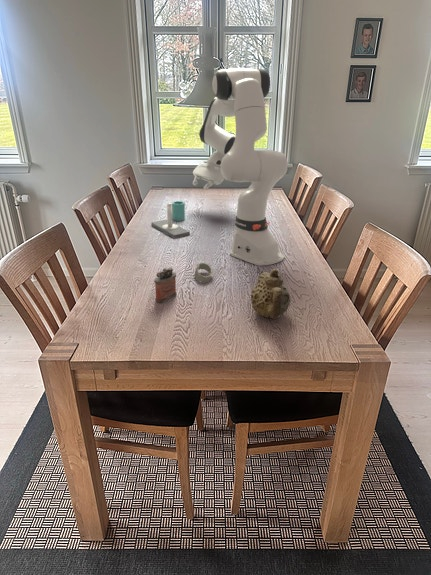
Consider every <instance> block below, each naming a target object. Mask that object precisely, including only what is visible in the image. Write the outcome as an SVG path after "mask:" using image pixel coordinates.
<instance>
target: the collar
mask: <svg viewBox="0 0 431 575" xmlns="http://www.w3.org/2000/svg"><path fill="white" fill-rule="evenodd" d="M171 204H172V221H178V222H181V221H184V220H185V219H186V216H185V214H186V212H185V210H186V206H185V202H184V201H182V200H181V201H179V200H175V201H172V203H171Z"/></svg>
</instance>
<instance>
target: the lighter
mask: <svg viewBox="0 0 431 575" xmlns="http://www.w3.org/2000/svg"><path fill="white" fill-rule="evenodd" d="M173 269H174V268H173V267H168V268H166V267H164V268H163V269H162V270H160V271H158V272H156V277H155V278H154V287H155V303H156V304H164V303H166V302H168V300H169V301H170V299H171V300H172V299H174V298H175V297H177V289H176V288H177V287H176V277H177V273H176V272H173V271H174V270H173Z"/></svg>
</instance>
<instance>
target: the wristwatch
mask: <svg viewBox="0 0 431 575" xmlns="http://www.w3.org/2000/svg"><path fill="white" fill-rule="evenodd" d="M199 270H203V271H204V270H205V271H206V272H208V274H209V275H207V276H205V275H202V274H200V273H199ZM213 271H214V270H212V266H210V265H209V264H207V263H204V262H199V263H198V264H197V265H196V268H195V271H194V276H193V278H194V279H195V280H196V281H197V282H200V283H208V282H210V280H211V278H212V276H213Z"/></svg>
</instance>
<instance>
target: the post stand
mask: <svg viewBox="0 0 431 575" xmlns="http://www.w3.org/2000/svg"><path fill="white" fill-rule="evenodd" d="M166 204H167V205H166V209H167V210H166V211H167V212H166V213H167V215H166V216H167V218H166V219H162V220H157V221H152V222H151V223H150V224H151V227H154V228H155V229H157V230H159V231H161V232H162V233H163V234H165V235H167V236H169V237H171V238H173V239H178V238H184V237H187V236H190V235H191V234H190V233H191V231H189V230H187V229H185V228H183V227H182V226H180V225H177V224H176V223H174V222H173V219H172V203H171V202H167V203H166Z"/></svg>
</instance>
